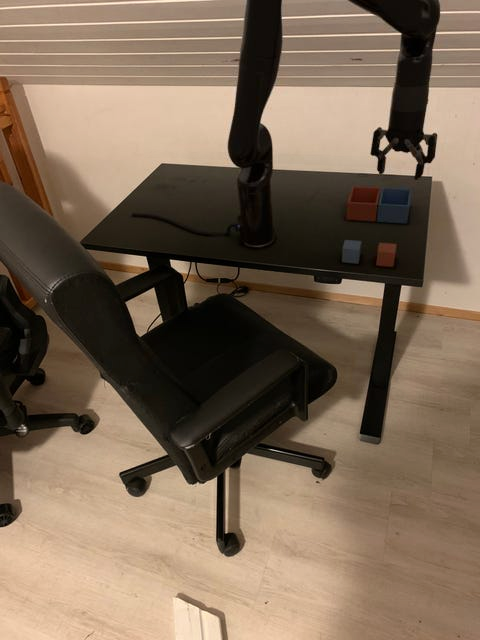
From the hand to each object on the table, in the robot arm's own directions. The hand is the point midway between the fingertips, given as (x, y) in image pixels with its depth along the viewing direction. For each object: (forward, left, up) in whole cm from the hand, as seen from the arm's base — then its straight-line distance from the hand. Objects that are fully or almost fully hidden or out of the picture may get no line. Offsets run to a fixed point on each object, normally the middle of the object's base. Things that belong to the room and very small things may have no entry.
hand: (399, 175), depth 112 cm
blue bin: (-1, +23, -22) cm, 32 cm away
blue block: (-10, -4, -22) cm, 25 cm away
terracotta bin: (-10, +23, -22) cm, 34 cm away
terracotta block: (-1, -4, -22) cm, 23 cm away
